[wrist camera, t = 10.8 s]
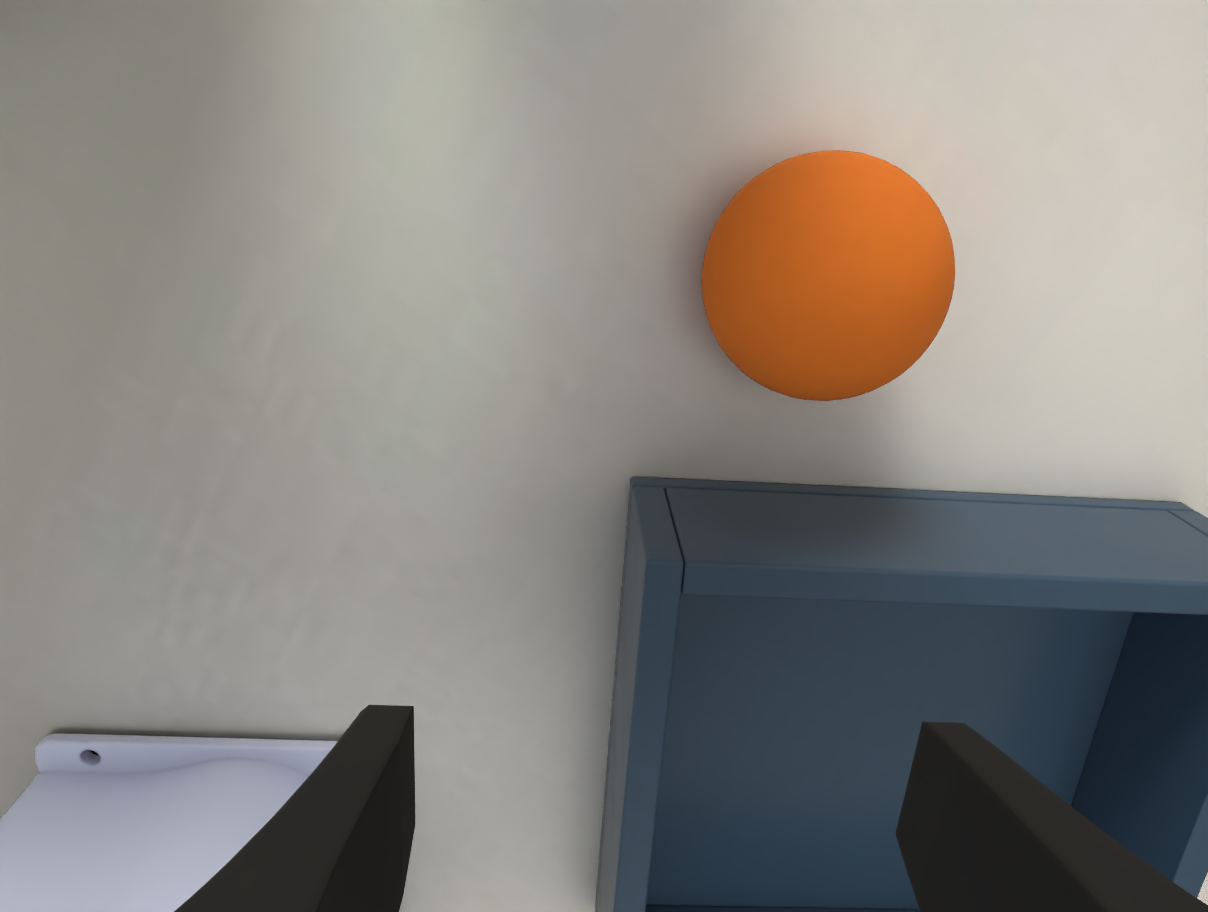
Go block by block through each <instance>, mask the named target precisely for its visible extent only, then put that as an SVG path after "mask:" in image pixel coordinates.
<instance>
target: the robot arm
mask: <svg viewBox="0 0 1208 912" xmlns="http://www.w3.org/2000/svg"><path fill="white" fill-rule="evenodd" d="M89 750H92V751H95V752H96V753H98V754H99V756H98V755H94V754H93V753H91V752H90V751H89ZM35 760H36V765H37V769H38V774H37V776H36V777H35V778H34V779H33V780H32V782H31V783H30V784H29V785H28V786H27V788H26V789H25V790H24V791H23V793H22V794H21V795H20V796H19V797H18V799H17V800H16V801H15V802H14V803H13V805H12V806H11V807H10V808H9V809H8V811H7V812H6V813H5V814H4V816H3V817H2V818H1V819H0V912H399V908H400V905H401V901H402V897H403V893H404V887H405V881H406V875H407V870H408V864H409V858H410V852H411V846H412V840H413V834H414V828H415V772H414V706H389V705H368V706H367V707H366V708H365V709H363V710H362V711H361V712H360V713H359V715H358V716H357V717H356V719H355V720H354V721H353V723H352V724H351V725H350V727H349V728H348V729H347V730H346V732H345V733H344V734H343V736H342V737H341V738H340V739H339V741H318V740H282V739H245V738H209V737H172V736H136V735H99V734H63V733H56V734H49V735H48V736H46V737H44V738H43V739H42V741H41V742H40V743H39V744H38V745H37V747H36V748H35ZM896 837H897V840H898V843H899V847H900V850H901V854H902V857H903V860H904V864H905V867H906V870H907V873H908V876H909V879H910V882H911V885H912V888H913V891H914V894H915V897H916V900H917V903H918V906H919V908H920V911H921V912H1208V905H1206V904H1205V903H1203V902H1202V901H1200V900H1199V899H1197V898H1196V897H1194V896H1193V895H1191V894H1190V893H1188V892H1187V891H1185V890H1184V889H1182V888H1181V887H1180V886H1178V885H1177V884H1175V883H1174V882H1172V881H1171V880H1170V879H1168V878H1167V877H1165V876H1164V875H1163V874H1161V873H1160V872H1158V871H1157V870H1156V869H1154V868H1153V867H1151V866H1150V865H1149V864H1147V863H1146V862H1144V861H1143V860H1142V859H1140V858H1139V857H1137V856H1136V855H1135V854H1133V853H1132V852H1130V851H1129V850H1128V849H1126V848H1125V847H1124V846H1122V845H1121V844H1120V843H1118V842H1117V841H1116V840H1114V839H1113V838H1112V837H1110V836H1109V835H1108V834H1106V833H1105V832H1104V831H1102V830H1101V829H1100V828H1099V827H1097V826H1096V825H1095V824H1093V823H1092V822H1091V821H1089V820H1088V819H1087V818H1085V817H1084V816H1083V815H1082V814H1080V813H1079V812H1078V811H1077V810H1075V809H1074V808H1073V807H1071V806H1070V805H1069V804H1068V803H1066V802H1065V801H1064V800H1062V799H1061V798H1060V797H1059V796H1057V795H1056V794H1055V793H1054V792H1052V791H1051V790H1050V789H1049V788H1047V787H1046V786H1045V785H1044V784H1042V783H1041V782H1040V781H1039V780H1037V779H1036V778H1035V777H1034V776H1032V775H1031V774H1030V773H1029V772H1027V771H1026V770H1025V769H1024V768H1022V767H1021V766H1020V765H1019V764H1017V763H1016V762H1015V761H1014V760H1012V759H1011V758H1010V757H1009V756H1007V755H1006V754H1005V753H1003V752H1002V751H1001V750H1000V749H998V748H997V747H996V746H995V745H993V744H992V743H991V742H989V741H988V740H987V739H986V738H984V737H983V736H982V735H980V734H979V733H978V732H976V731H975V730H973V729H972V728H971V727H969V726H968V725H966V724H965V723H956V722H923V721H922V725H921V729H920V733H919V737H918V741H917V746H916V750H915V754H914V758H913V762H912V767H911V771H910V775H909V779H908V783H907V787H906V792H905V796H904V800H903V804H902V808H901V813H900V817H899V821H898V825H897V829H896Z"/></svg>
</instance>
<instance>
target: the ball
mask: <svg viewBox="0 0 1208 912" xmlns="http://www.w3.org/2000/svg"><path fill="white" fill-rule="evenodd" d="M954 280H955V259H954V251H953V245H952V240H951V236H950V233H949V230H948V227H947V225H946V223H945V220H944V218H943V216H942V214H941V212H940V210H939V208H938V207H937V205H936V204H935V202H934V201H933V199H932V198H931V197H930V195H929V194H928V193H927V192H926V191H925V190H924V189H923V187H922V186H921V185H920V184H919V183H918V182H917V181H916V180H915V179H913V178H912V177H910V176H909V175H908V174H906V173H905V172H904V171H902V170H901V169H899V168H898V167H896V166H894V165H892V164H890V163H888V162H886V161H884V160H881V159H879V158H876V157H873V156H870V155H866V154H863V153H857V152H850V151H840V150H836V151H820V152H814V153H808V154H803V155H799V156H796V157H793V158H790V159H787V160H785V161H783V162H781V163H778V164H776V165H774V166H772V167H770V168H769V169H767V170H765V171H764V172H762V173H761V174H759V175H758V176H756V177H755V178H754V179H752V180H751V181H750V182H749V183H748V184H746V185H745V186H744V187H743V188H742V189H741V190H740V191H739V192H738V193H737V194H736V195H735V197H734V198H733V199H732V200H731V201H730V203H729V204H728V206H727V207H726V208H725V210H724V211H723V213H722V214H721V216H720V218H719V220H718V221H717V223H716V225H715V227H714V230H713V232H712V234H711V236H710V239H709V242H708V245H707V249H706V252H705V257H704V262H703V269H702V295H703V301H704V306H705V311H706V316H707V319H708V321H709V324H710V327H711V329H712V331H713V333H714V335H715V337H716V339H717V341H718V343H719V345H720V346H721V348H722V349H723V351H724V352H725V354H726V355H727V356H728V357H729V358H730V360H731V361H732V362H733V363H734V364H735V365H736V366H737V367H738V368H739V369H740V370H741V371H742V372H743V373H745V374H746V375H747V376H749V377H750V378H751V379H753V380H754V381H756V382H757V383H759V384H761V385H762V386H764V387H766V388H768V389H770V390H772V391H775V392H778V393H781V394H784V395H787V396H790V397H793V398H799V399H804V400H818V401H829V400H839V399H845V398H850V397H854V396H859V395H862V394H864V393H867V392H870V391H872V390H875V389H877V388H879V387H881V386H883V385H885V384H887V383H889V382H890V381H892V380H893V379H895V378H896V377H898V376H900V375H901V374H902V373H903V372H905V371H906V370H907V369H908V368H910V367H911V366H912V365H913V364H914V363H915V362H916V361H917V360H918V359H919V358H920V357H921V355H922V354H923V353H924V352H925V351H926V349H927V348H928V347H929V345H930V344H931V342H932V341H933V340H934V338H935V337H936V335H937V333H938V331H939V329H940V328H941V326H942V324H943V321H944V319H945V317H946V314H947V312H948V309H949V305H950V302H951V299H952V294H953V289H954Z"/></svg>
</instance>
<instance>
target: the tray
mask: <svg viewBox="0 0 1208 912" xmlns="http://www.w3.org/2000/svg"><path fill="white" fill-rule="evenodd" d="M922 721H923V722H956V723H965V724H966V725H968V726H969V727H971V728H972V729H973V730H975V731H976V732H978V733H979V734H980V735H982V736H983V737H984V738H986V739H987V740H988V741H989V742H991V743H992V744H993V745H995V746H996V747H997V748H998V749H1000V750H1001V751H1002V752H1003V753H1005V754H1006V755H1007V756H1009V757H1010V758H1011V759H1012V760H1014V761H1015V762H1016V763H1017V764H1019V765H1020V766H1021V767H1022V768H1024V769H1025V770H1026V771H1027V772H1029V773H1030V774H1031V775H1032V776H1034V777H1035V778H1036V779H1037V780H1039V781H1040V782H1041V783H1042V784H1044V785H1045V786H1046V787H1047V788H1049V789H1050V790H1051V791H1052V792H1054V793H1055V794H1056V795H1057V796H1059V797H1060V798H1061V799H1062V800H1064V801H1065V802H1066V803H1068V804H1069V805H1070V806H1071V807H1073V808H1074V809H1075V810H1077V811H1078V812H1079V813H1080V814H1082V815H1083V816H1084V817H1085V818H1087V819H1088V820H1089V821H1091V822H1092V823H1093V824H1095V825H1096V826H1097V827H1099V828H1100V829H1101V830H1102V831H1104V832H1105V833H1106V834H1108V835H1109V836H1110V837H1112V838H1113V839H1114V840H1116V841H1117V842H1118V843H1120V844H1121V845H1122V846H1124V847H1125V848H1126V849H1128V850H1129V851H1130V852H1132V853H1133V854H1135V855H1136V856H1137V857H1139V858H1140V859H1142V860H1143V861H1144V862H1146V863H1147V864H1149V865H1150V866H1151V867H1153V868H1154V869H1156V870H1157V871H1158V872H1160V873H1161V874H1163V875H1164V876H1165V877H1167V878H1168V879H1170V880H1171V881H1172V882H1174V883H1175V884H1177V885H1178V886H1180V887H1181V888H1182V889H1184V890H1185V891H1187V892H1188V893H1190V894H1191V895H1193V896H1194V897H1196V898H1197V896H1198V894H1199V891H1200V889H1201V887H1202V884H1203V882H1204V879H1205V877H1206V875H1207V872H1208V518H1207V517H1205V516H1203V515H1202V514H1200V513H1198V512H1196V511H1194V510H1193V509H1191V508H1189V507H1188V506H1186V505H1184V504H1183V503H1181V502H1163V501H1141V500H1120V499H1098V498H1077V497H1055V496H1034V495H1012V494H991V493H970V492H948V491H927V490H905V489H884V488H862V487H841V486H819V485H798V484H776V483H755V482H734V481H712V480H691V479H669V478H648V477H632V478H631V482H630V494H629V506H628V518H627V530H626V542H625V554H624V566H623V578H622V590H621V602H620V614H619V626H618V638H617V650H616V662H615V674H614V686H613V698H612V710H611V722H610V734H609V746H608V758H607V770H606V782H605V794H604V806H603V818H602V830H601V842H600V854H599V866H598V878H597V890H596V902H595V912H921V911H920V908H919V906H918V903H917V900H916V897H915V894H914V891H913V888H912V885H911V882H910V879H909V876H908V873H907V870H906V867H905V864H904V860H903V857H902V854H901V850H900V847H899V843H898V840H897V837H896V829H897V825H898V821H899V817H900V813H901V808H902V804H903V800H904V796H905V792H906V787H907V783H908V779H909V775H910V771H911V767H912V762H913V758H914V754H915V750H916V746H917V741H918V737H919V733H920V729H921V725H922Z"/></svg>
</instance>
